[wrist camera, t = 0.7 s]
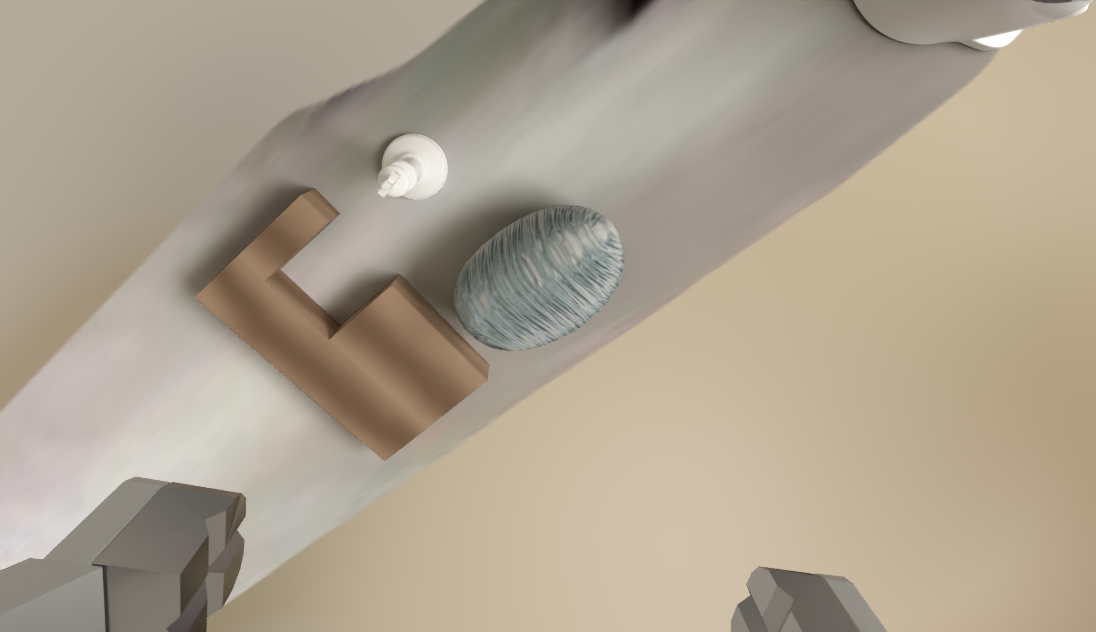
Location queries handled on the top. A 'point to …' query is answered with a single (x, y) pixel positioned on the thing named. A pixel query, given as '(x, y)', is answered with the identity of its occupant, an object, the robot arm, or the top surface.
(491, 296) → the yarn ball
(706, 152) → the top surface
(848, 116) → the top surface
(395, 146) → the chess piece
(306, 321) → the notch board
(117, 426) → the top surface
